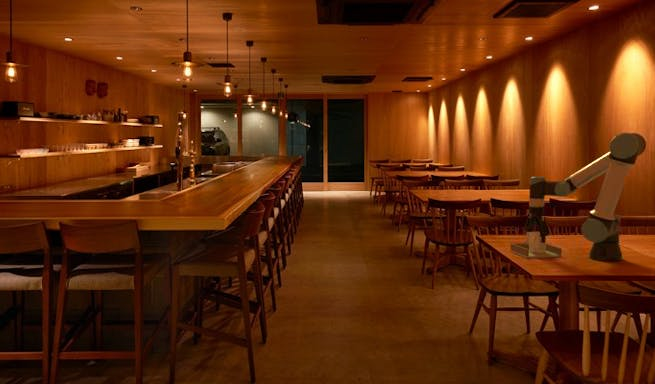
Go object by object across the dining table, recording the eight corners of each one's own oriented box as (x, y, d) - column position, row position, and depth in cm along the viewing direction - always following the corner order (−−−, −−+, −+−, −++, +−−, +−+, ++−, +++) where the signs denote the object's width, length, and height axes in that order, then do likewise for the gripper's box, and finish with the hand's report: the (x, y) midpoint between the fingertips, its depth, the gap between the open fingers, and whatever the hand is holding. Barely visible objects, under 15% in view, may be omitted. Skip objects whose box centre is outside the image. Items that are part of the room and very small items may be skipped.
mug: (540, 255, 295) (540, 235, 294) (524, 253, 300) (524, 233, 300) (547, 251, 305) (548, 232, 304) (531, 250, 310) (532, 231, 309)
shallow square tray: (561, 257, 296) (561, 248, 296) (526, 258, 293) (526, 249, 293) (543, 250, 314) (543, 242, 313) (510, 251, 311) (510, 243, 311)
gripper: (556, 208, 290) (554, 250, 291) (531, 203, 314) (530, 242, 316) (542, 209, 288) (540, 251, 290) (518, 203, 313) (517, 242, 315)
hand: (535, 246), depth 303 cm, fingers open, 13 cm apart
